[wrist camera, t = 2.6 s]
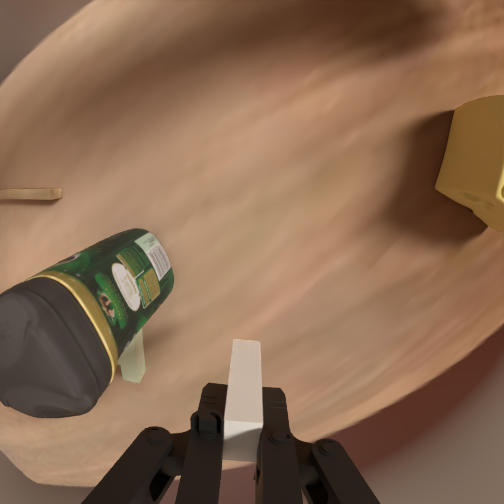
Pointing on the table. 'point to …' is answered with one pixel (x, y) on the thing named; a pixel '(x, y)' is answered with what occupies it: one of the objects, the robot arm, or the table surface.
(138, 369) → the sage T block
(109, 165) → the table surface
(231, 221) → the table surface
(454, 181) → the cheese
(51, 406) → the coffee jar
